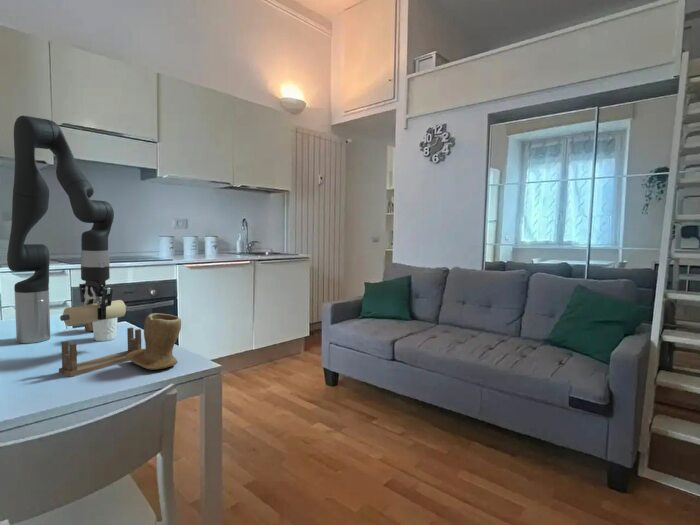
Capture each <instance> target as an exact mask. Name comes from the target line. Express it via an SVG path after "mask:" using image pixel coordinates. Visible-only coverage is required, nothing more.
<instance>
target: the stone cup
mask: <svg viewBox="0 0 700 525" xmlns="http://www.w3.org/2000/svg"><path fill="white" fill-rule="evenodd" d="M143 325H144V326H143V327H144V328H143V338H144V343H145V348H141V349H139V350H135V351H132V352H130V353H128V354H127V355H126V358H127V359H129V361H130V362H132V363H133V364H135V365H137V366H140V367H141V368H143V369H144V368H145V369H146V370H162V369H166V368H169V367H173V366H175V365H177V364H178V359H177V358H176V357H175V356H174V355H173V350H174V347H175V343H176V342H177V339H178V337H179V335H180V333H181V329H182V319H181V318H180V317H179V316H176V315H173V314H167V313H158V312H155V313H149V314H148V315H147V316H146V317H145V319H144V324H143Z"/></svg>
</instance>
